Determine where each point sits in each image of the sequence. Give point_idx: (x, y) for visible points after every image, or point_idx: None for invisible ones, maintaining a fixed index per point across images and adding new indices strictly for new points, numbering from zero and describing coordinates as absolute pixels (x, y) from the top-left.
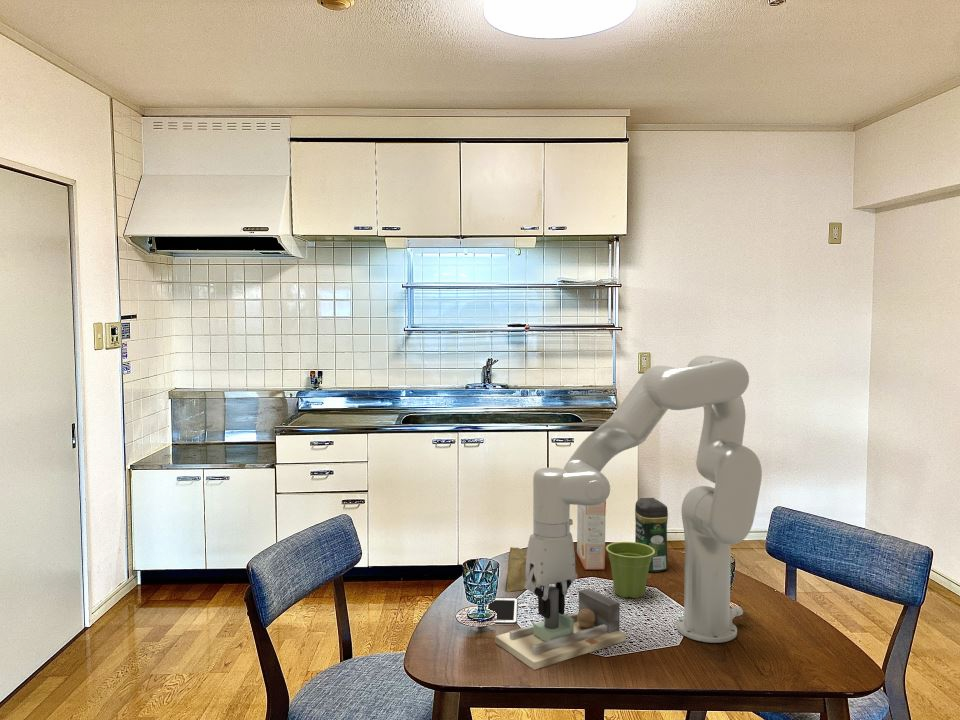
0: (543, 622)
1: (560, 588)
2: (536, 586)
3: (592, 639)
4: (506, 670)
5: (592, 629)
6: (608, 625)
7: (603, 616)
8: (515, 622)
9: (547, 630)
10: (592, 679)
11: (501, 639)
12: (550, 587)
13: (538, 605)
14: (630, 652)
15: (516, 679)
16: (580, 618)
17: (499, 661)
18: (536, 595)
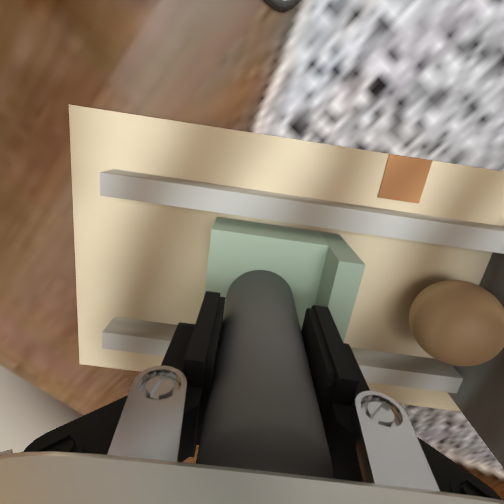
0: (260, 250)
1: (358, 477)
2: (109, 452)
3: None
4: (13, 297)
5: (389, 379)
6: (456, 401)
7: (485, 397)
8: (284, 5)
9: None
10: (194, 461)
11: (76, 152)
12: (282, 453)
13: (169, 345)
14: None
15: (14, 352)
16: (420, 327)
17: (22, 238)
18: (127, 396)
